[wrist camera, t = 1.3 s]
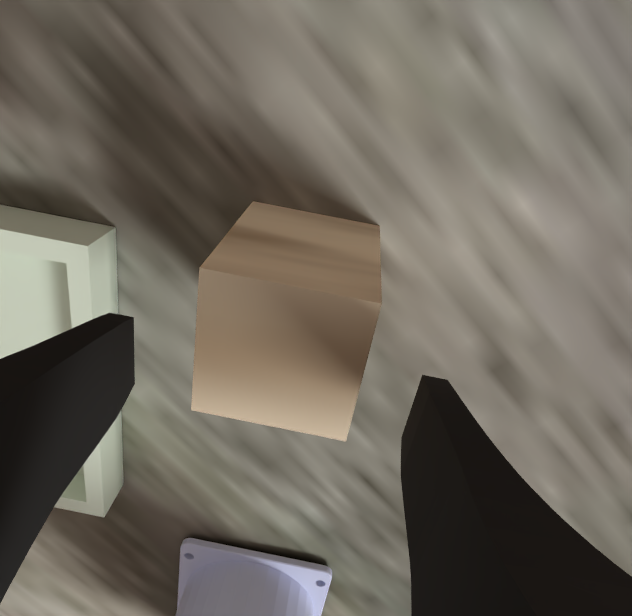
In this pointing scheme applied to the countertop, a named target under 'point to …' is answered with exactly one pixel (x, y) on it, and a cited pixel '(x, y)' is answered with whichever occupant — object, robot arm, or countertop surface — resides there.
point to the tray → (61, 317)
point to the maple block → (287, 320)
